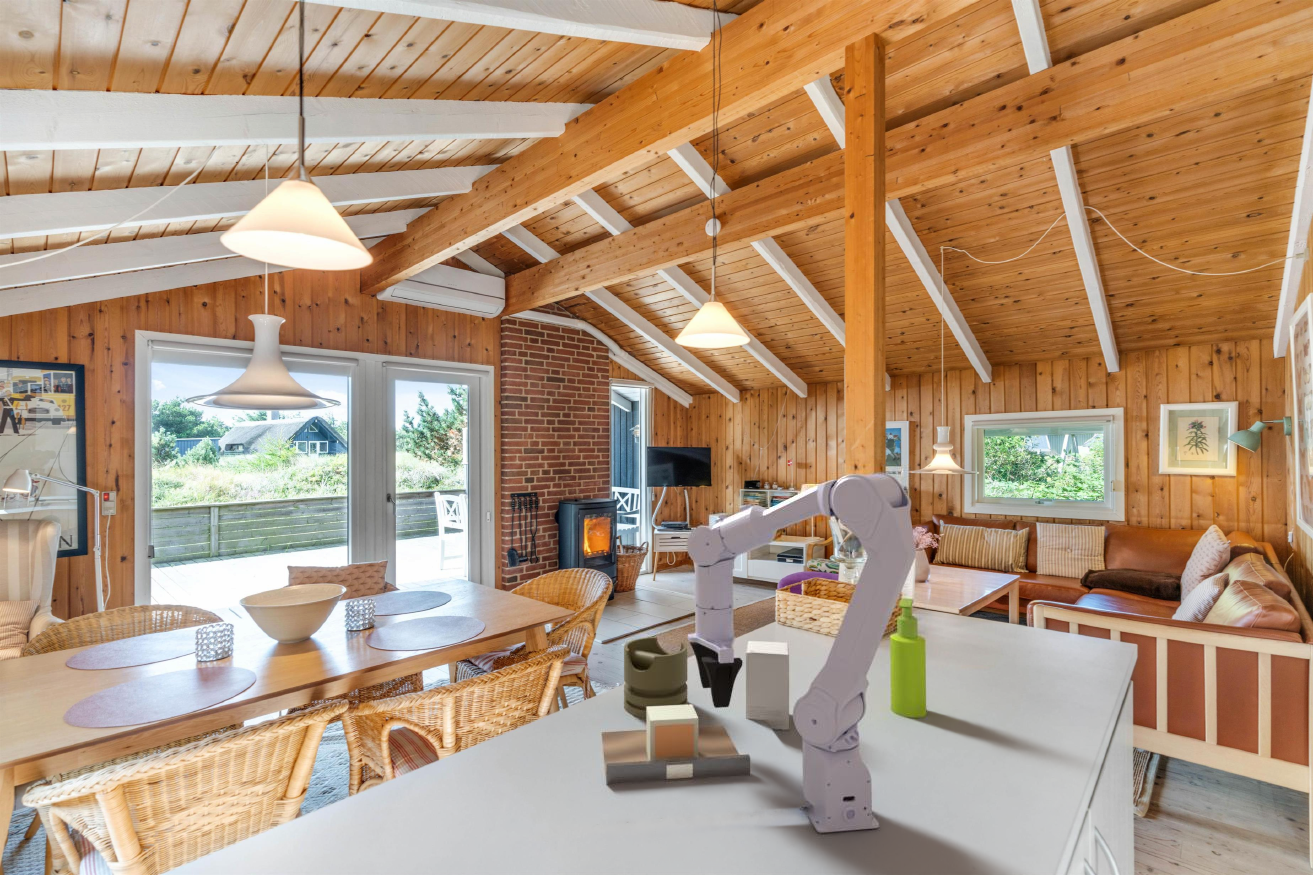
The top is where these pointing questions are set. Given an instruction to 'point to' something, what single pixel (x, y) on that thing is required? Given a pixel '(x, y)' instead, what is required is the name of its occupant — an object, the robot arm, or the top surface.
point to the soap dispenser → (908, 665)
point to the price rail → (677, 769)
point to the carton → (671, 732)
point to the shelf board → (634, 749)
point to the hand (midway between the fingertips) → (715, 696)
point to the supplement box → (768, 683)
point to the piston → (653, 676)
